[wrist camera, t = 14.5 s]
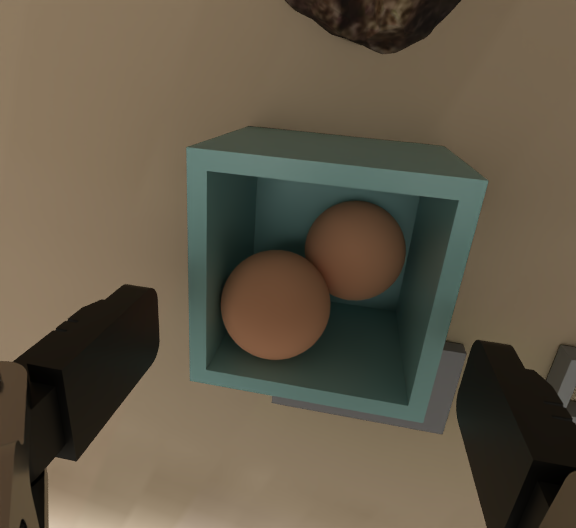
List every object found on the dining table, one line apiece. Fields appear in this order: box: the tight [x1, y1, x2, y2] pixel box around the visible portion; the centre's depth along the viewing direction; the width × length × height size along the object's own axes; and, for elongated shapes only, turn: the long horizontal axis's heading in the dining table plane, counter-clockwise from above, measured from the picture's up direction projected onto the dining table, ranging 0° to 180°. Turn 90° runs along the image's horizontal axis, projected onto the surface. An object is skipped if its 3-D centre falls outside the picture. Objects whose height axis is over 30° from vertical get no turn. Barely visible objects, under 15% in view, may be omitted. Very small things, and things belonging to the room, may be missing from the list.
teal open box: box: [186, 126, 488, 423], centre depth 16 cm, size 8×8×7 cm
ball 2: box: [305, 200, 406, 301], centre depth 17 cm, size 4×4×4 cm
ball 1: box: [221, 250, 331, 360], centre depth 16 cm, size 4×4×4 cm
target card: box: [272, 342, 466, 434], centre depth 22 cm, size 9×5×1 cm, turn 86°
